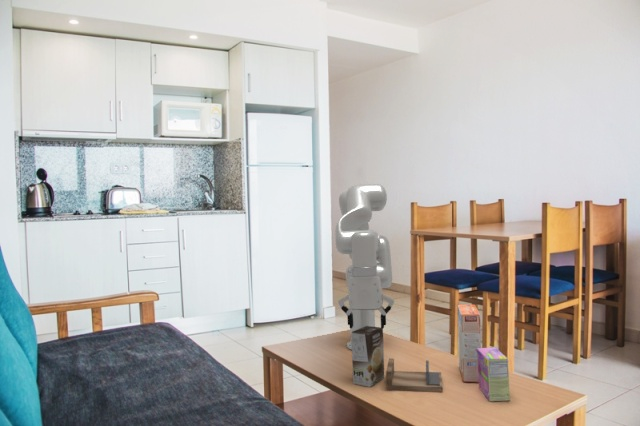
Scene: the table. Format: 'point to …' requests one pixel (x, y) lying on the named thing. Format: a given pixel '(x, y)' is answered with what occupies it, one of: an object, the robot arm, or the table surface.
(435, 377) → the bookend
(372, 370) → the coffee box
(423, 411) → the table surface
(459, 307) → the cracker box
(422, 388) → the shelf
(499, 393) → the box
